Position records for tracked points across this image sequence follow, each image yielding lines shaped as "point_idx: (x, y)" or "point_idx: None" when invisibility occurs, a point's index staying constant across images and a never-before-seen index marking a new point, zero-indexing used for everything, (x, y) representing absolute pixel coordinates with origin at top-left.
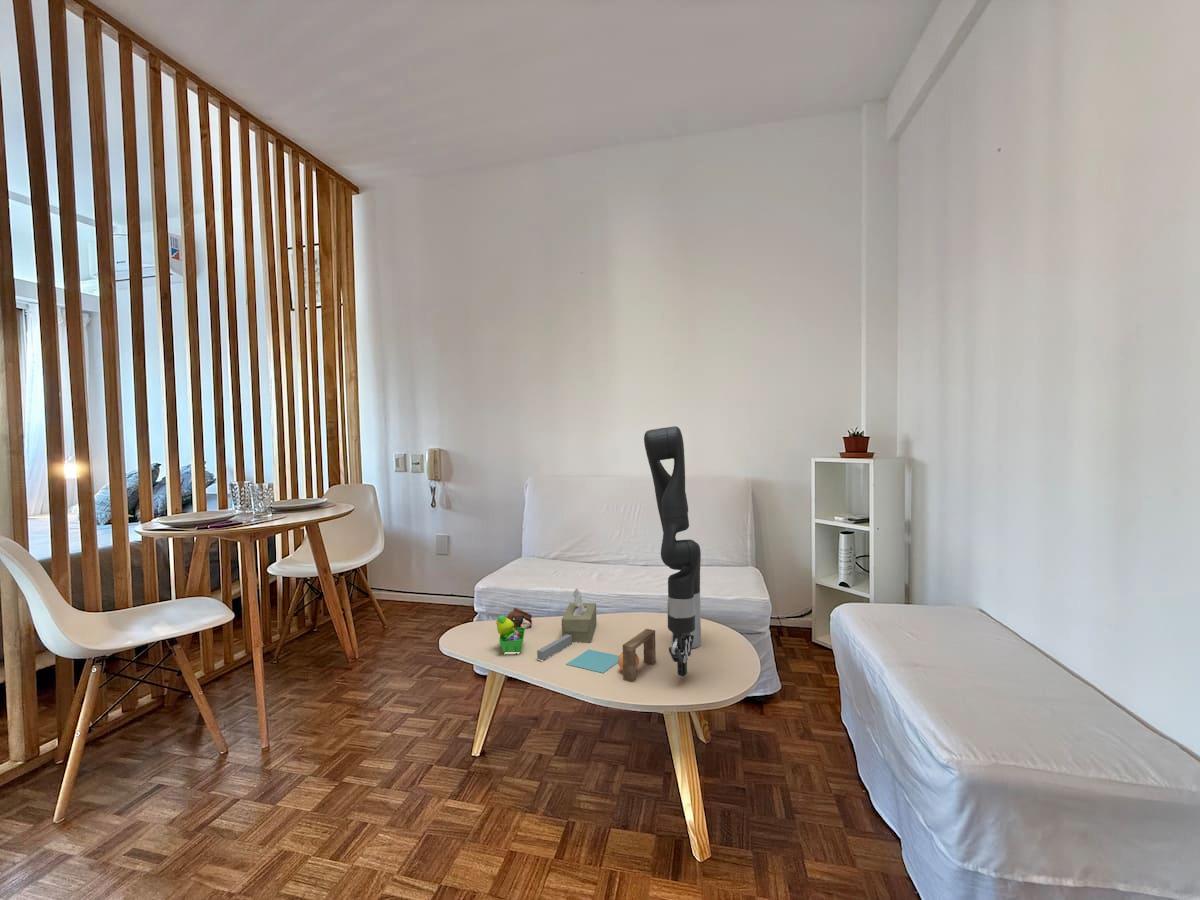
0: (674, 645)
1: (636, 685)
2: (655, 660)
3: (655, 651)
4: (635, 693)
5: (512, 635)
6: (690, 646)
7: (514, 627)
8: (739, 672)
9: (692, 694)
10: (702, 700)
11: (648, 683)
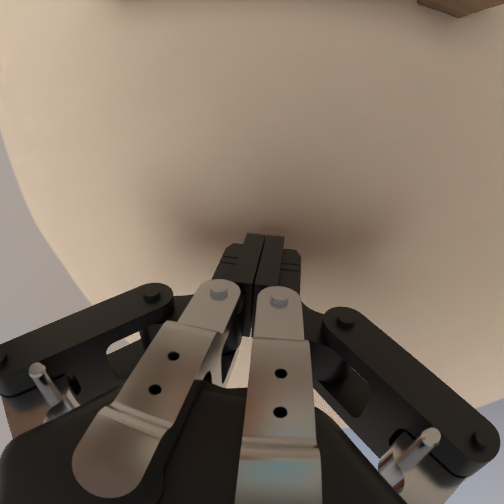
0: (13, 424)
1: (91, 36)
2: (462, 13)
3: (496, 3)
4: (32, 87)
5: None
6: (356, 430)
7: None
8: None
9: None
10: None
11: (136, 73)
